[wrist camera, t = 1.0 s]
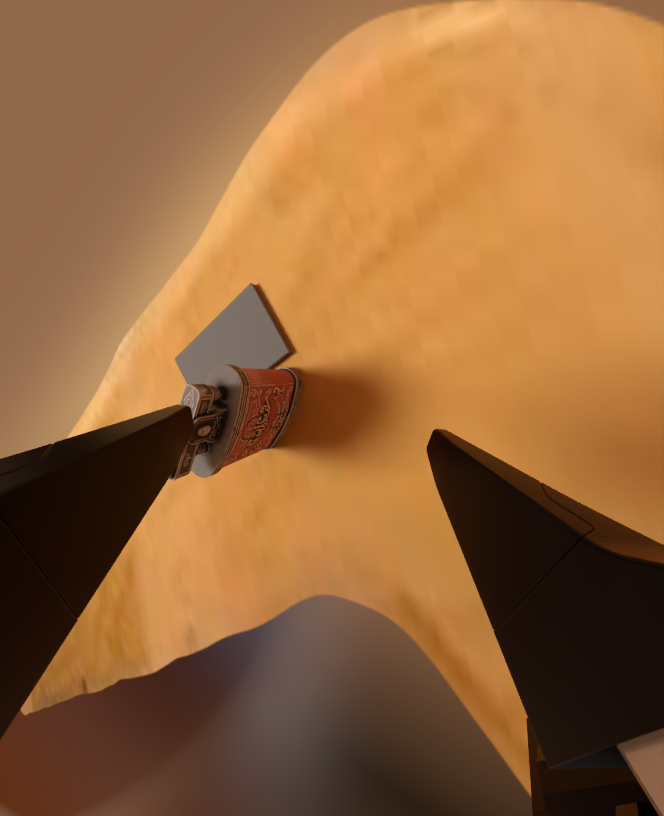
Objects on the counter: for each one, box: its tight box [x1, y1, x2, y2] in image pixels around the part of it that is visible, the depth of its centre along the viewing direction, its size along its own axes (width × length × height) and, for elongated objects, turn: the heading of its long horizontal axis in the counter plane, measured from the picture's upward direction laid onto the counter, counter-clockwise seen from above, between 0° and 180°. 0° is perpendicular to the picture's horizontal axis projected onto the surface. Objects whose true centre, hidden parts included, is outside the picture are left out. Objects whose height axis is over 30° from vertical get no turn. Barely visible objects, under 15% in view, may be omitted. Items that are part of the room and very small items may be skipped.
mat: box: [175, 283, 291, 384], centre depth 24 cm, size 7×12×1 cm, turn 122°
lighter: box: [168, 364, 302, 481], centre depth 18 cm, size 8×3×10 cm, turn 154°
